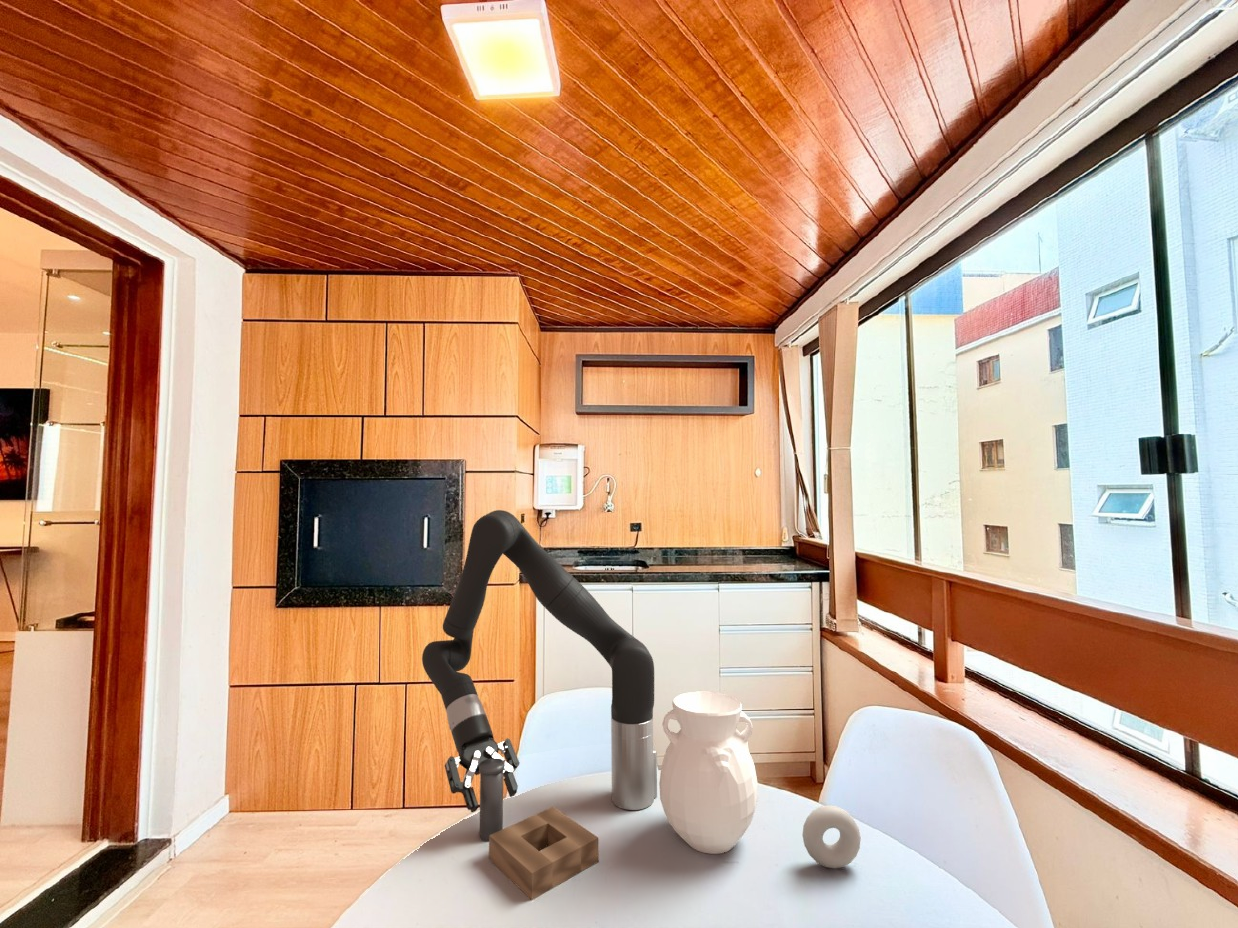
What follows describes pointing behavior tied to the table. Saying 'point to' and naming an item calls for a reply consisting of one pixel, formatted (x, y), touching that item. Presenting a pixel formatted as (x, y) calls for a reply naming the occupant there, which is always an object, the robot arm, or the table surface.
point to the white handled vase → (708, 772)
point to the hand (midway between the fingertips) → (495, 801)
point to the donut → (838, 851)
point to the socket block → (543, 851)
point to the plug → (491, 797)
